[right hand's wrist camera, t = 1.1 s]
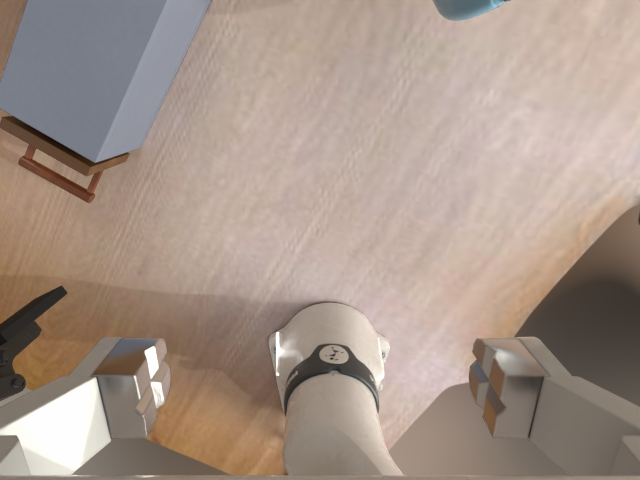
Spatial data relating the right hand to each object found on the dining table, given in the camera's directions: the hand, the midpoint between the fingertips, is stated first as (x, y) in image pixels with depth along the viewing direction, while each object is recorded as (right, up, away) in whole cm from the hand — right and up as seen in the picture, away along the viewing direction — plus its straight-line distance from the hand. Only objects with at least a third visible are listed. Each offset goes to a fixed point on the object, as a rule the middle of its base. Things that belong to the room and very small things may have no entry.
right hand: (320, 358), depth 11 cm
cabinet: (-22, +26, +38) cm, 51 cm away
